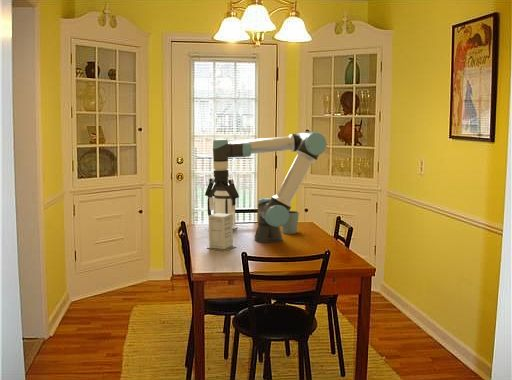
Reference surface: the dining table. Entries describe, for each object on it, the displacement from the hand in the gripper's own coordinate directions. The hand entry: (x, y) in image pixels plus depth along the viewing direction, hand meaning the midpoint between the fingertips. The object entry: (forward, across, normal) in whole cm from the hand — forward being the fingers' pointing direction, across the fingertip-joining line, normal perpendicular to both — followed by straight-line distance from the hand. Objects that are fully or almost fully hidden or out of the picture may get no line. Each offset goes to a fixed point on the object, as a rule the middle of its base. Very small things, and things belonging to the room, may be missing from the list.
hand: (222, 210), depth 303 cm
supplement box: (+19, +1, +1) cm, 19 cm away
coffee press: (+20, +30, -38) cm, 53 cm away
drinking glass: (+21, -8, -53) cm, 58 cm away
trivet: (+20, 0, +1) cm, 20 cm away
